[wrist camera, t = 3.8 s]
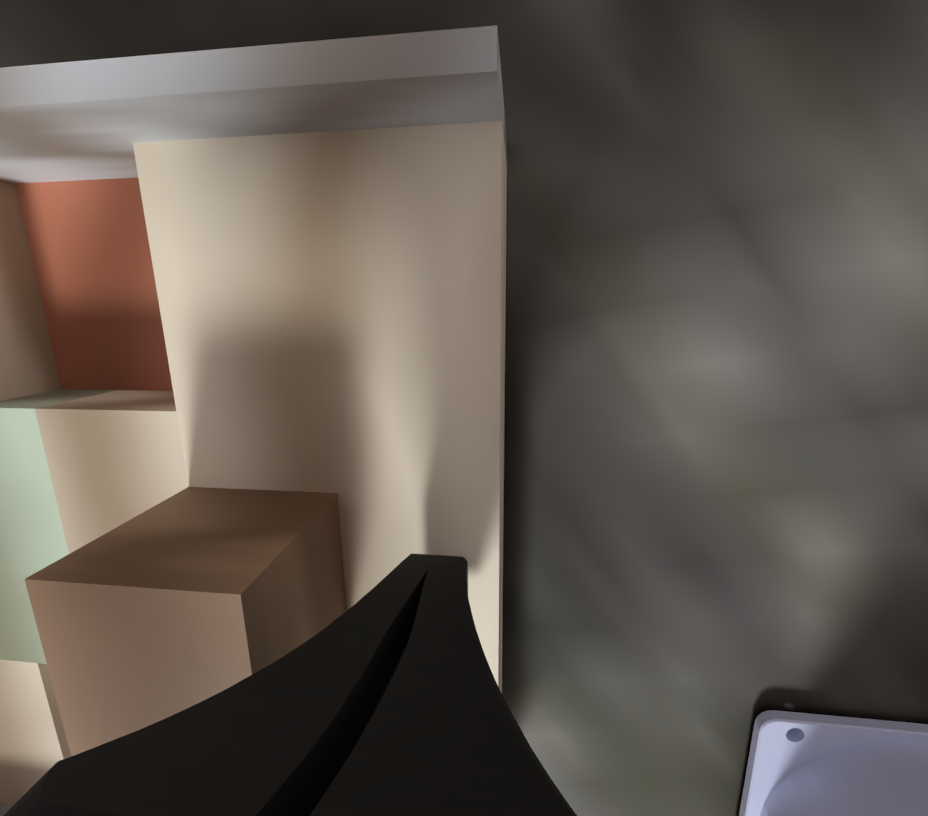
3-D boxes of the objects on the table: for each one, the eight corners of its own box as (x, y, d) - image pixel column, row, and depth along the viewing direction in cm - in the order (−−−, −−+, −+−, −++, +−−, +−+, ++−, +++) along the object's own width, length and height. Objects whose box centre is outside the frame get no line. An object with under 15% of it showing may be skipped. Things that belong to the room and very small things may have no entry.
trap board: (507, 139, 12) (497, 25, 7) (501, 784, 17) (492, 984, 12) (-109, 172, 14) (-444, 105, 9) (47, 731, 19) (-118, 880, 14)
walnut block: (337, 492, 11) (240, 594, 7) (348, 631, 12) (268, 787, 8) (188, 486, 12) (24, 579, 8) (210, 620, 13) (72, 762, 9)
